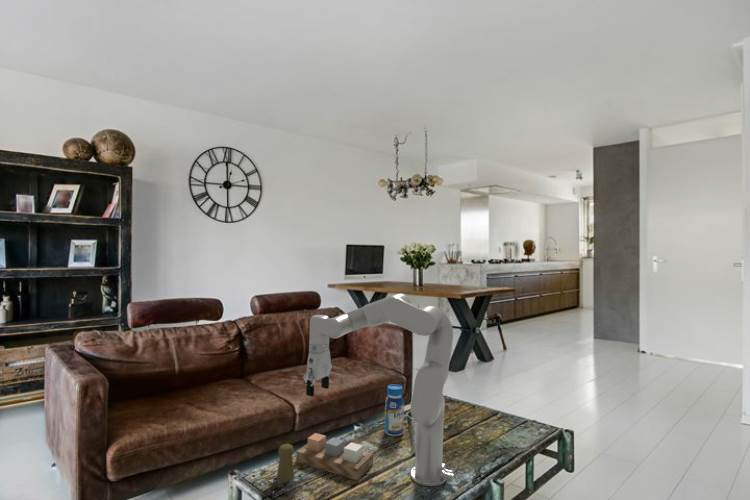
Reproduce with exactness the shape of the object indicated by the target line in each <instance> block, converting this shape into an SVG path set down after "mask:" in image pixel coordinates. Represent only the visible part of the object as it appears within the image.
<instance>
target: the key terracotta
mask: <svg viewBox="0 0 750 500" xmlns="http://www.w3.org/2000/svg"><path fill="white" fill-rule="evenodd" d="M326 441H327V435H324V434H320V433H318V432H317V433H316V432H314V433H313V434H312V435H310V436H309V437H307V443H308V450H311V451H315V452H318V453H319V452H321V451H322V450H323V449H324V448H325V443H326Z"/></svg>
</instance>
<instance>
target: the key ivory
mask: <svg viewBox="0 0 750 500" xmlns="http://www.w3.org/2000/svg"><path fill="white" fill-rule="evenodd" d="M363 451H364V445H362V444H358V443H355V442H350V443H349V444H347V445H346V447H345V448H344V460H346V461H349V462H353V463H356V464H357V463H358V462H359V461H360V460H361V459H362V458H363Z"/></svg>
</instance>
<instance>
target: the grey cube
mask: <svg viewBox="0 0 750 500" xmlns="http://www.w3.org/2000/svg"><path fill="white" fill-rule="evenodd" d="M344 446H345V440H343V439H341V438H336V437H331V438H330V439H329V440H328V442H326V443H325V455H328V456H332V457H335V458H338V457H339V456H340V455H341V454H343V453H344Z"/></svg>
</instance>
